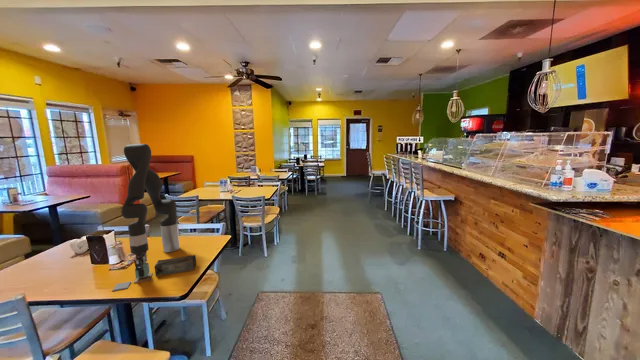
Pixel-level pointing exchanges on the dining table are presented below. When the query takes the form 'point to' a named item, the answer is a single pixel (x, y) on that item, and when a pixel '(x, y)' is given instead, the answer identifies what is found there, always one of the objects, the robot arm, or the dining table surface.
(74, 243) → the white crumpled lump
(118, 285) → the pad
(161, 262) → the beverage carton
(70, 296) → the dining table surface
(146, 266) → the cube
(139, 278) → the pad
